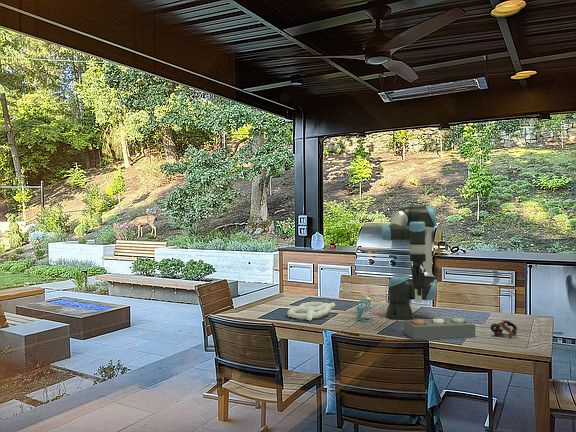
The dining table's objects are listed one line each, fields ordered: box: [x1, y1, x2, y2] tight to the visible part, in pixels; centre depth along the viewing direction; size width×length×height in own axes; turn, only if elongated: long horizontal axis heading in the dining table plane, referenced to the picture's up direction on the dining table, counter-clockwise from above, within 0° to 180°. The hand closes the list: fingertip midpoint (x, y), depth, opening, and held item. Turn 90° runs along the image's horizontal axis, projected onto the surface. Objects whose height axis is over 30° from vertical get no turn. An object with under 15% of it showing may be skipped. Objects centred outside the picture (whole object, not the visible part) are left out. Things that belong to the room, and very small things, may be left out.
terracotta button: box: [412, 318, 425, 325], centre depth 226 cm, size 5×5×3 cm
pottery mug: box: [490, 319, 518, 339], centre depth 223 cm, size 12×10×8 cm
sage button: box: [452, 317, 465, 323], centre depth 228 cm, size 5×5×3 cm
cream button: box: [432, 317, 445, 324], centre depth 227 cm, size 5×5×3 cm
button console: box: [403, 318, 476, 340], centre depth 227 cm, size 14×30×6 cm, turn 96°
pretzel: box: [286, 301, 336, 322], centre depth 275 cm, size 28×24×6 cm
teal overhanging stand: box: [355, 298, 374, 323], centre depth 262 cm, size 8×8×12 cm
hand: (418, 302), depth 226 cm, fingers closed
